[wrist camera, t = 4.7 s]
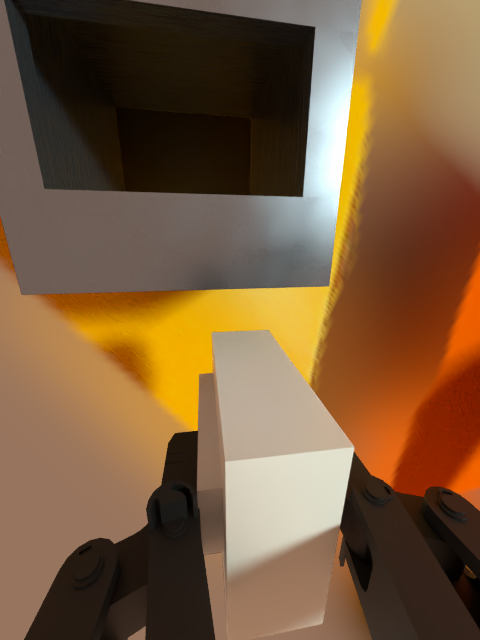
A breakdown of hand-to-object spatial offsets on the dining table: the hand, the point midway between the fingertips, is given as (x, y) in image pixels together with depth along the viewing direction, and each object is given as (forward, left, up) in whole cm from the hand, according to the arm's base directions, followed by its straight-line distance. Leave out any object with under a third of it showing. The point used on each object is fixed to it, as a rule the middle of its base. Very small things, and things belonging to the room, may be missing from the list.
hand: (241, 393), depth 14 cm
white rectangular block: (0, 0, 0) cm, 0 cm away
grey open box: (+2, -12, -11) cm, 17 cm away
